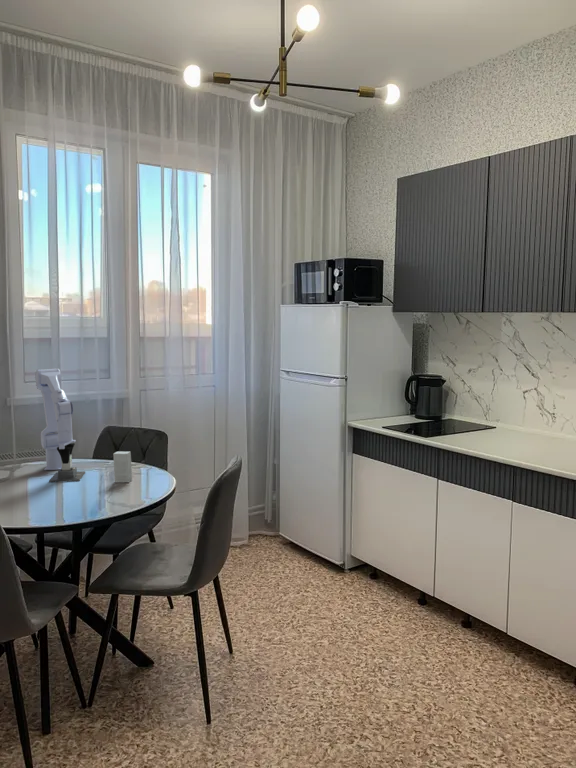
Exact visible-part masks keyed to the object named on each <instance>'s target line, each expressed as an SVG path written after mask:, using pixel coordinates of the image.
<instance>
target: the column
mask: <svg viewBox="0 0 576 768" xmlns="http://www.w3.org/2000/svg"><path fill="white" fill-rule="evenodd" d="M72 454H73V453H72ZM72 454H69V462H68V464H63V463H62V459H61V463H62V471H72V467H73V455H72Z"/></svg>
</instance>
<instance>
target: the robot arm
mask: <svg viewBox="0 0 576 768" xmlns="http://www.w3.org/2000/svg"><path fill="white" fill-rule="evenodd" d="M34 378H35V379H34V380H35V386H36V390H37V389H38V390H40V393H41V396H42V403H43V404H42V405H43V410H44V411H43V412H44V417H45V424H46V427H45V428H44V429H43V430H41V432H40V445H41V448H43V449H44V450H45V462H46V463H45V465H46V466H45V467H44V469H43V471H57V470H58V471H59V470H60V469H61V468H62V463H63V464H68V462H69V454H73V449H74V447H75V443H76V441H77V440H76V439H73V420H72V415H73V414H74V405H73V402H72V400H70V399H68V397H67V394H66V392H65V390H64V389H61V386H60V383H61V379H62V372H61V370H60V369H59V368H58V367H55V368H49V369H48V368H47V369H45V368H43V369H35V372H34ZM61 459H62V463H61Z"/></svg>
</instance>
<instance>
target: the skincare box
mask: <svg viewBox="0 0 576 768" xmlns="http://www.w3.org/2000/svg"><path fill="white" fill-rule="evenodd" d="M112 455H113V471H114V473H113V476H114V483H130V482H131V481H132V480H133V473H132V472H133V471H132V470H133V469H132V453H131V451H115V452H114V453H113V454H112Z"/></svg>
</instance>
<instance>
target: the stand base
mask: <svg viewBox="0 0 576 768" xmlns="http://www.w3.org/2000/svg"><path fill="white" fill-rule="evenodd" d="M77 468H78V467H77V466H74V467H73V466H72V471H62V468H61V469H60V470H58V471H57V472H55V473H54V474H53V475H52V477H51V478H50V479H48V482H49V483H56V482H55V481H67V482H80V481H81V480H80V479H82V478H84V476H85V474H86V471H85V470H84V471H83V470H81V471H77V470H78V469H77ZM83 475H84V476H83Z"/></svg>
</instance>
